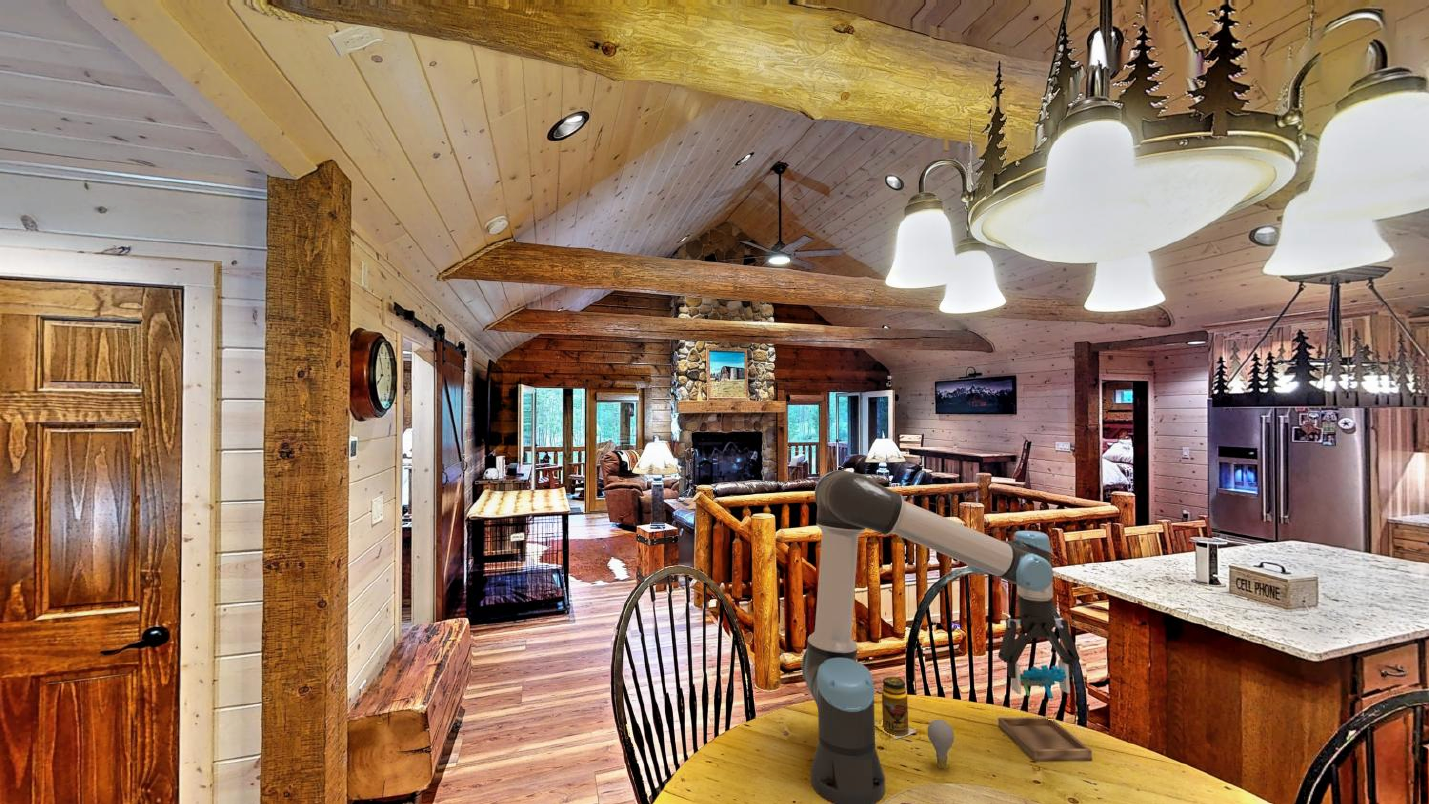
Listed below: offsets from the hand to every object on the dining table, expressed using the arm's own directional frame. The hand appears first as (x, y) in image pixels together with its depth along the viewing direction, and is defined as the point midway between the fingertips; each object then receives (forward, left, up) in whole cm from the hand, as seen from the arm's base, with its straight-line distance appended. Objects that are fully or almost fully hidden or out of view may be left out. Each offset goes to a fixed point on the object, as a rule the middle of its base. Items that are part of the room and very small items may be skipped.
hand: (1040, 691), depth 131 cm
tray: (0, 0, -12) cm, 12 cm away
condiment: (-33, +7, -12) cm, 36 cm away
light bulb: (-28, -10, -12) cm, 32 cm away
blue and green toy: (0, 0, 0) cm, 0 cm away
